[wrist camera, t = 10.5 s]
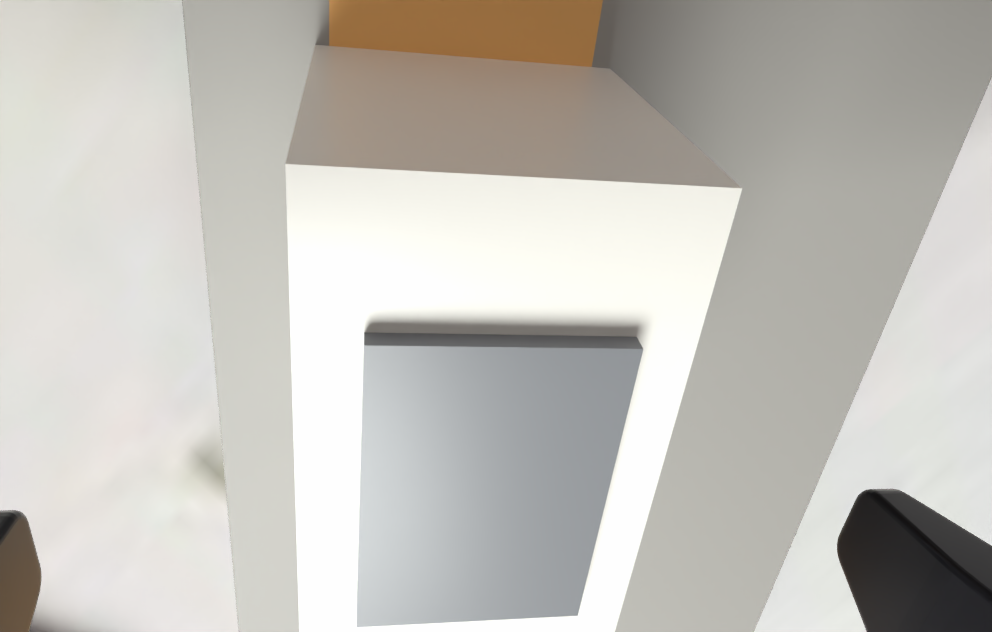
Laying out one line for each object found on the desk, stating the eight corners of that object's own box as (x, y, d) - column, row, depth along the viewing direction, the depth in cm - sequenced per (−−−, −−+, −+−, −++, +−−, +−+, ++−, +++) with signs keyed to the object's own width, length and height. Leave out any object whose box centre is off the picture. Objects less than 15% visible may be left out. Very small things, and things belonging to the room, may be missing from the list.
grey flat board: (1101, -282, 11) (1148, -290, 11) (736, 619, 21) (748, 644, 21) (154, -463, 9) (138, -487, 8) (247, 646, 19) (242, 676, 18)
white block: (610, 68, 12) (752, 197, 8) (546, 420, 16) (618, 649, 11) (315, 44, 11) (283, 173, 7) (318, 421, 15) (298, 669, 10)
